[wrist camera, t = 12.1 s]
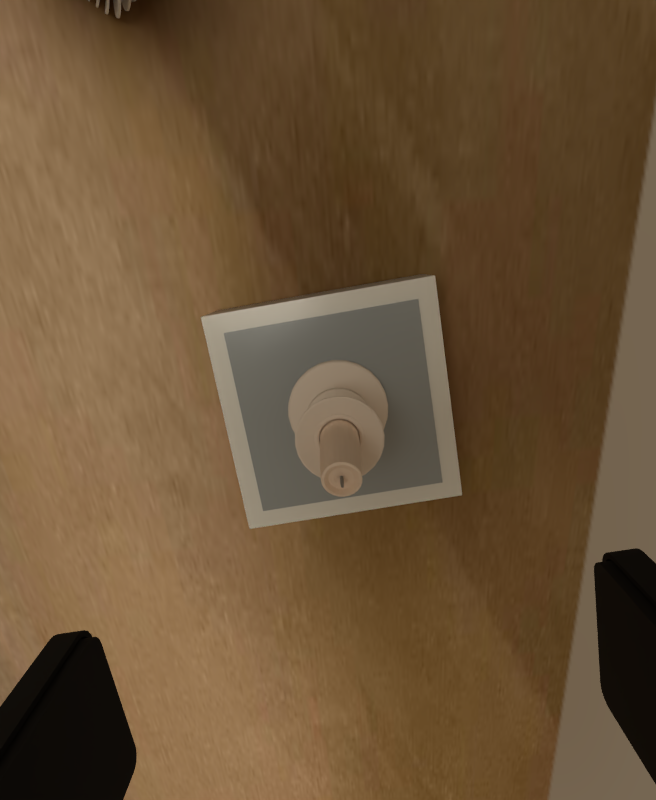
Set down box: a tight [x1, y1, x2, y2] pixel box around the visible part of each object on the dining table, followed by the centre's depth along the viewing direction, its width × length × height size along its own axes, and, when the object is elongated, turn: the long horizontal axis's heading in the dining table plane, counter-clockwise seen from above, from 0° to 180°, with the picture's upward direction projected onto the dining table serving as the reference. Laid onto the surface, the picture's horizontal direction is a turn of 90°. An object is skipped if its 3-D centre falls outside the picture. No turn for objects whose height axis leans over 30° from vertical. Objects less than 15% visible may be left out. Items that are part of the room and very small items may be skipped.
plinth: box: [201, 274, 462, 529], centre depth 30 cm, size 12×12×4 cm
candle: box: [288, 360, 388, 497], centre depth 23 cm, size 5×5×10 cm
